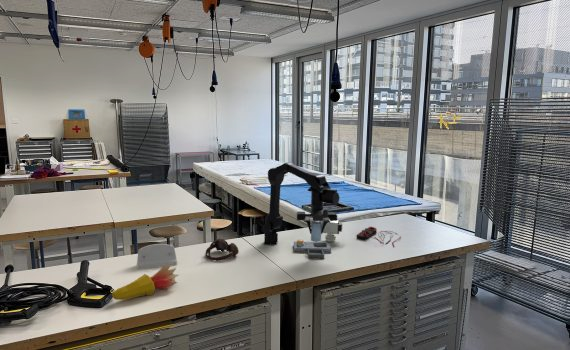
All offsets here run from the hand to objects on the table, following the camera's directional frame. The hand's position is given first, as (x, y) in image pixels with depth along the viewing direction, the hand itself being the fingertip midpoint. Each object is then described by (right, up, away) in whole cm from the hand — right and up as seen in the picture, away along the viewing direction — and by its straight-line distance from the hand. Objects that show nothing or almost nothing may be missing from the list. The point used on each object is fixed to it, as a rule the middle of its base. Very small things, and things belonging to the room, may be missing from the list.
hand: (316, 233), depth 180 cm
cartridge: (0, -3, 0) cm, 3 cm away
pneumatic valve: (+10, -8, +24) cm, 27 cm away
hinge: (-71, -12, -12) cm, 73 cm away
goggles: (-45, -11, -1) cm, 46 cm away
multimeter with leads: (+38, -8, +31) cm, 49 cm away
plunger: (-7, -9, +11) cm, 16 cm away
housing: (-1, -9, +11) cm, 14 cm away
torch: (-65, -16, -39) cm, 78 cm away
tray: (0, -11, +2) cm, 11 cm away
